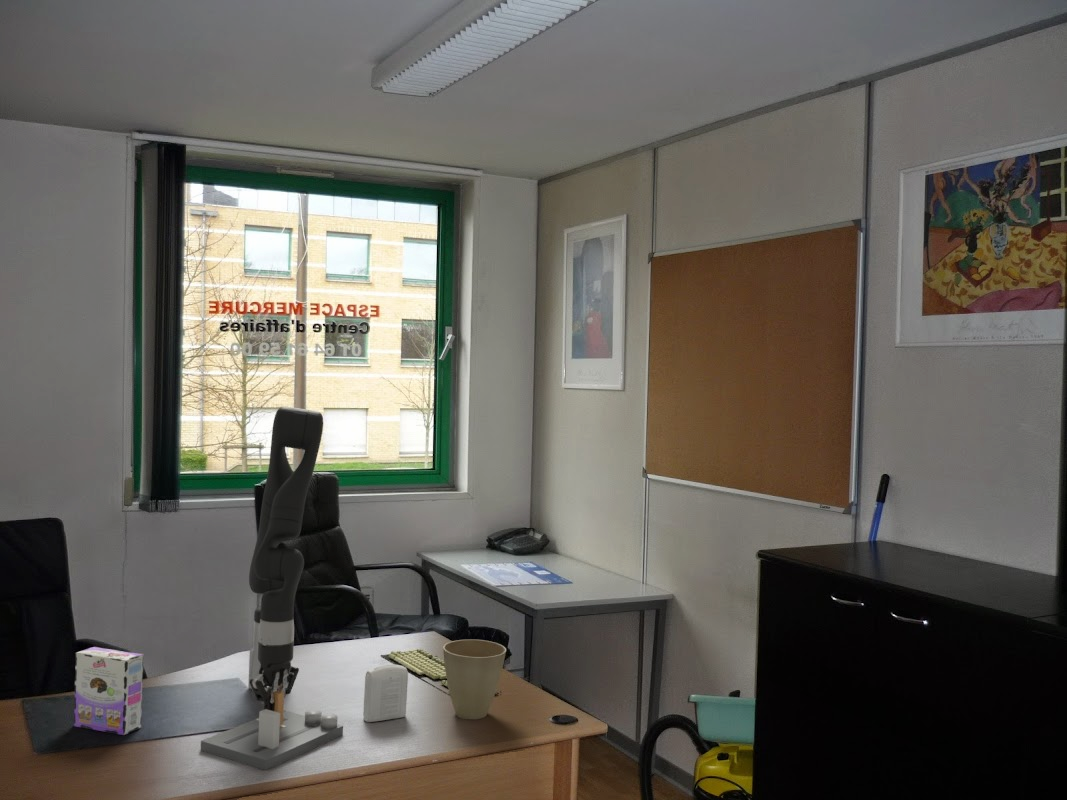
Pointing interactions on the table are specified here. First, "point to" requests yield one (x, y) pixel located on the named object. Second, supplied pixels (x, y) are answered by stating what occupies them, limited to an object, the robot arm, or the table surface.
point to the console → (274, 737)
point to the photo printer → (385, 693)
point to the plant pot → (473, 675)
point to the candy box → (108, 690)
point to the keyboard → (421, 664)
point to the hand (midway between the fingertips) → (273, 716)
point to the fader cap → (279, 704)
